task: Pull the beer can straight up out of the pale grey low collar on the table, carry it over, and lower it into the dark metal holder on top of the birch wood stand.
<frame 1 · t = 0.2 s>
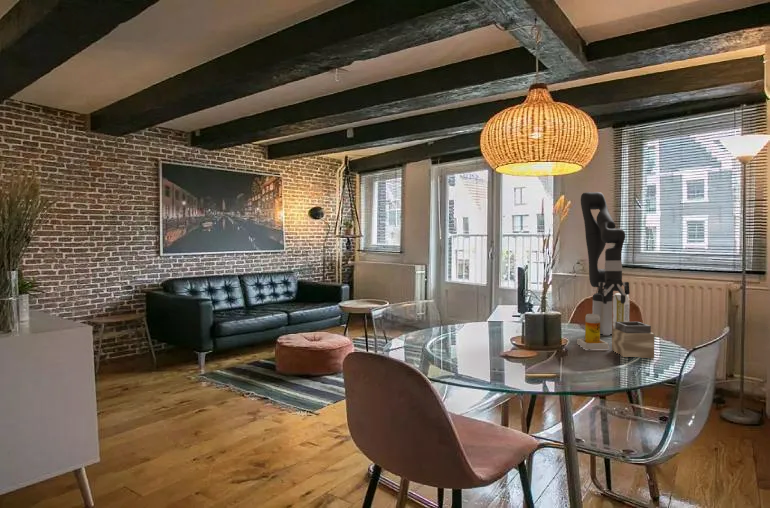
hand: (613, 303, 233), 18 cm above the table, tool pointing down, fingers open, 8 cm apart
low collar: (592, 347, 218), on the table
stand: (632, 354, 205), on the table
juice carton: (620, 329, 259), on the table
beer can: (592, 348, 218), resting in low collar
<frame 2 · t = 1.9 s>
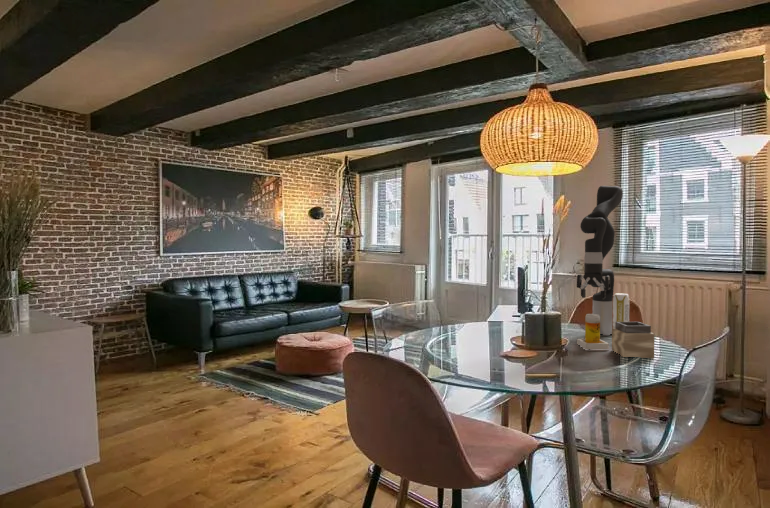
hand: (593, 298, 217), 22 cm above the table, tool pointing down, fingers open, 8 cm apart
nothing on the table moved.
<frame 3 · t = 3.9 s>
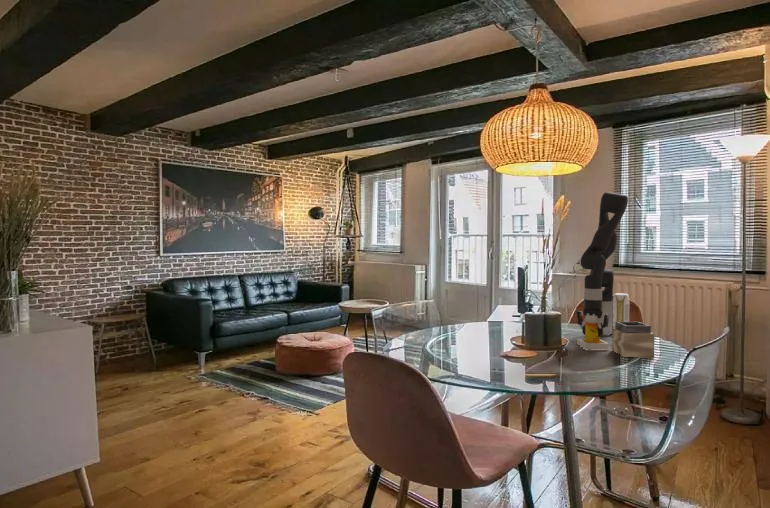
hand: (592, 335, 218), 6 cm above the table, tool pointing down, fingers closed on beer can, 6 cm apart
beer can: (592, 348, 218), resting in low collar, touching gripper
everything else where it was.
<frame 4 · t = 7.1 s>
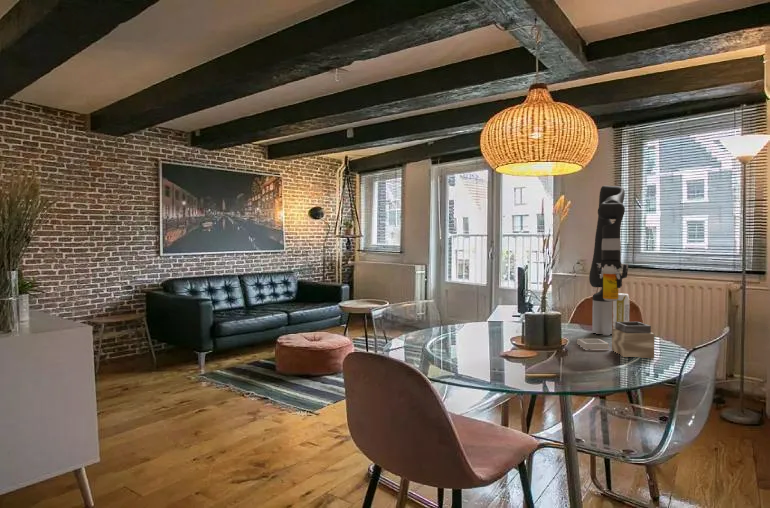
hand: (610, 287, 211), 28 cm above the table, tool pointing down, fingers closed on beer can, 6 cm apart
beer can: (610, 300, 211), point 22 cm above the table, touching gripper
everything else where it was.
when the fingers open (17 cm above the table, at t = 10.2 s): beer can drops 1 cm, resting on stand.
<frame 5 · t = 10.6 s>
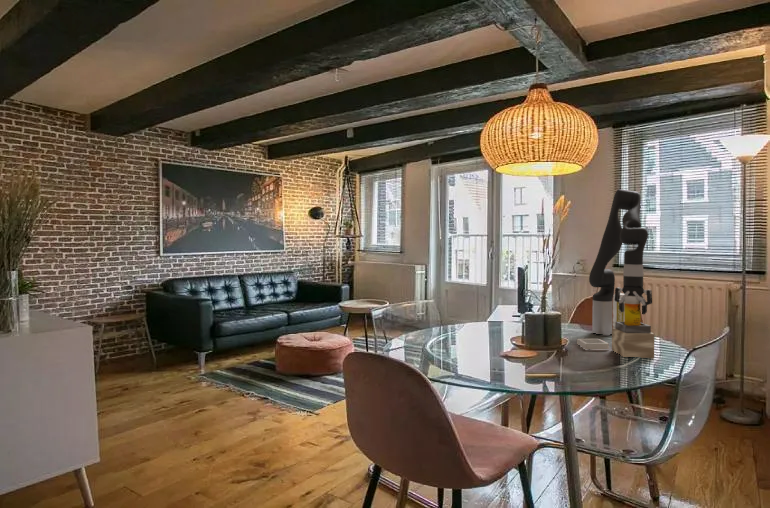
hand: (632, 313, 205), 18 cm above the table, tool pointing down, fingers open, 8 cm apart
beer can: (632, 331, 205), point 10 cm above the table, touching stand
everything else where it was.
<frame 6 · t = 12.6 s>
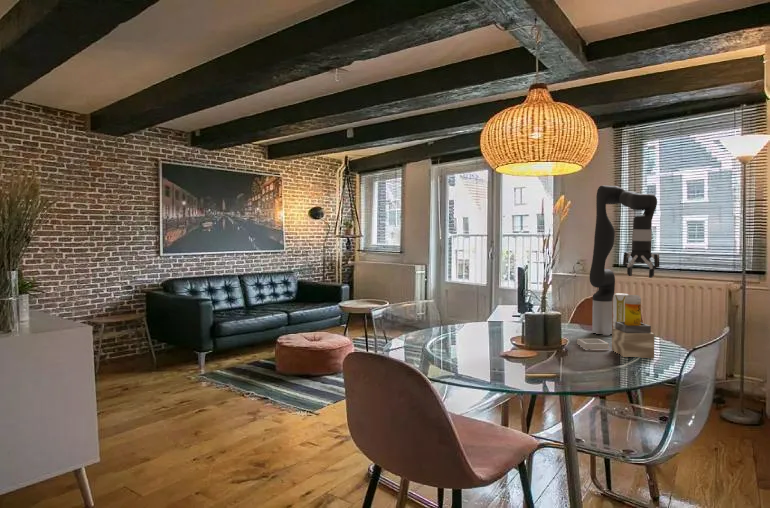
hand: (640, 276, 212), 32 cm above the table, tool pointing down, fingers open, 8 cm apart
nothing on the table moved.
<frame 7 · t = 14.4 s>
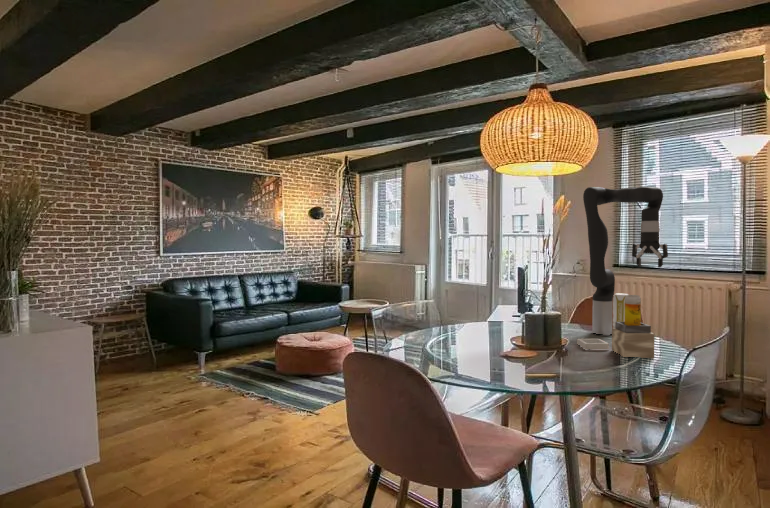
hand: (649, 266, 220), 36 cm above the table, tool pointing down, fingers open, 8 cm apart
nothing on the table moved.
at the end: beer can 0.1 cm off-centre on the stand, point 9.8 cm above the stand's base; beer can tilted 0°; the gripper is holding nothing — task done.
